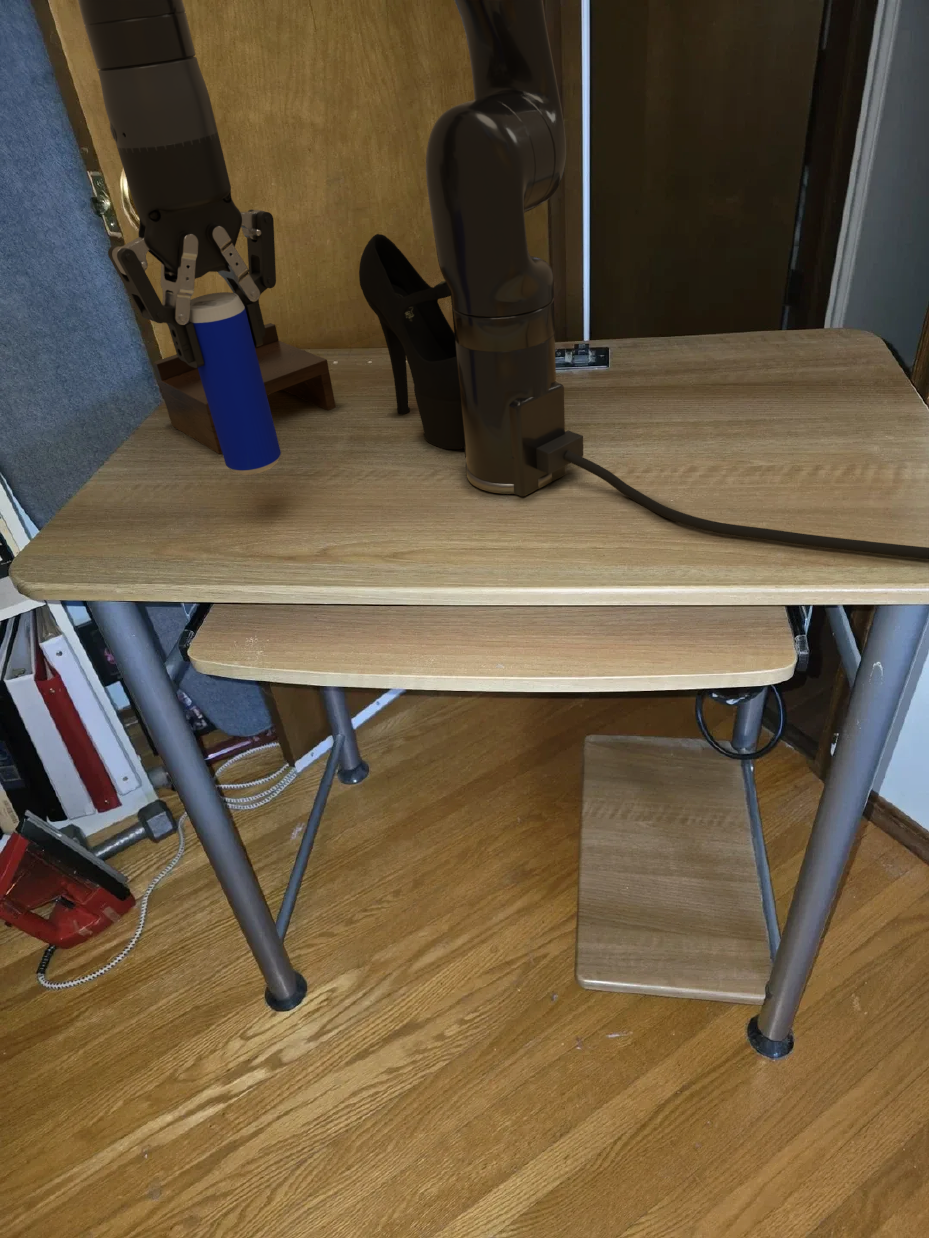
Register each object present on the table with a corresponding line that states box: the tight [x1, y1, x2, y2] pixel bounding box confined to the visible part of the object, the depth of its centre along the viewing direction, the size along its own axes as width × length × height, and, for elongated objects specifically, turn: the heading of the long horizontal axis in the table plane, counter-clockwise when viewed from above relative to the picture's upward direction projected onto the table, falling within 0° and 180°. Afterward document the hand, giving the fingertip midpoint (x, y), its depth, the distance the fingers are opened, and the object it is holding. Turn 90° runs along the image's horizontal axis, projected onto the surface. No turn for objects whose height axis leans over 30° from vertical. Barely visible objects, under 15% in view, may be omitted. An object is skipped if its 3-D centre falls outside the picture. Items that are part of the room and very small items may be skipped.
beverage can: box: [189, 291, 282, 476], centre depth 78 cm, size 5×5×15 cm
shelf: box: [152, 322, 337, 455], centre depth 105 cm, size 12×16×8 cm
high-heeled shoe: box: [358, 233, 465, 450], centre depth 94 cm, size 8×19×20 cm, turn 39°
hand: (225, 354), depth 76 cm, fingers closed on beverage can, 5 cm apart
